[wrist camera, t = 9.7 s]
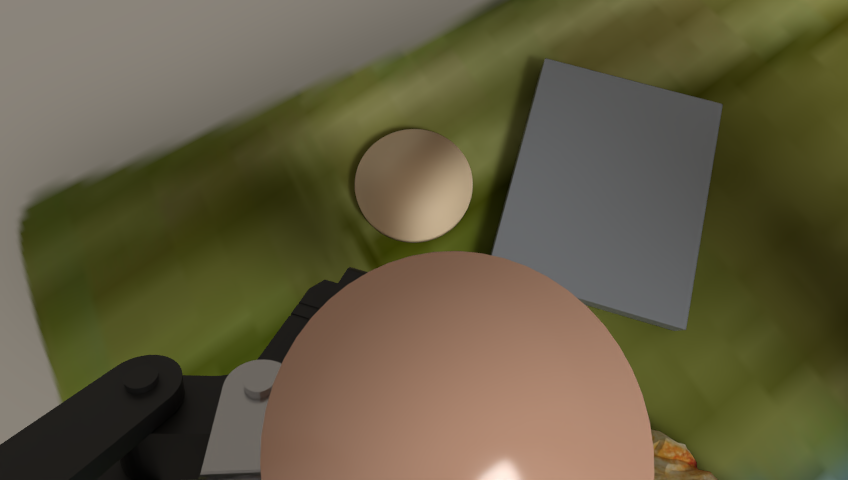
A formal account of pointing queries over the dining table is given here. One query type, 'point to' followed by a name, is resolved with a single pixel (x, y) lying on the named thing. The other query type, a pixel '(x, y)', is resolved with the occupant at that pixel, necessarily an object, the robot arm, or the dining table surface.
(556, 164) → the slate board
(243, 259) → the dining table surface
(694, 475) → the croissant
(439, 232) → the cork coaster
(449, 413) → the pinkish tan rounded cylinder
